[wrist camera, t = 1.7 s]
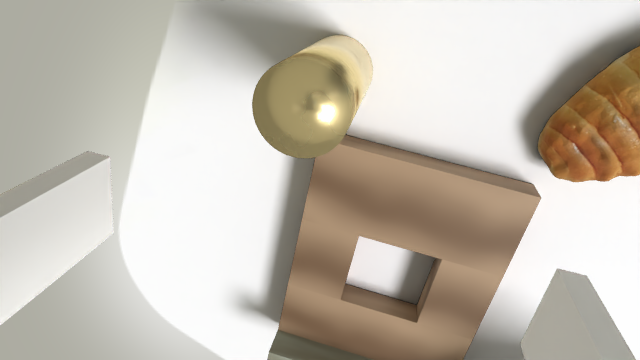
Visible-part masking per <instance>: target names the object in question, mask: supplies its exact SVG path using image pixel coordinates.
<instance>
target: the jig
mask: <svg viewBox="0 0 640 360" xmlns="http://www.w3.org/2000/svg"><path fill="white" fill-rule="evenodd" d="M540 200H541V197H540V195H539V193H538V191H537V190H536V188H535V186H534V185H533V184H530V183H526V182H522V181H518V180H515V179H511V178H507V177H503V176H499V175H496V174H492V173H488V172H484V171H480V170H477V169H473V168H469V167H465V166H462V165H458V164H454V163H450V162H446V161H443V160H439V159H435V158H431V157H428V156H424V155H420V154H416V153H412V152H409V151H405V150H401V149H397V148H393V147H390V146H386V145H382V144H378V143H375V142H371V141H367V140H363V139H359V138H356V137H352V136H348V135H345V136H344V138H343V139H342V141H341V142H340V143H339V144H338V145H337V146H336V147H335V148H334V149H333V150H331V151H330V152H328V153H326V154H324V155H321V156H318V157H315V161H314V166H313V171H312V175H311V180H310V184H309V189H308V194H307V198H306V203H305V208H304V212H303V217H302V221H301V226H300V231H299V235H298V240H297V245H296V249H295V254H294V258H293V263H292V268H291V272H290V277H289V282H288V286H287V291H286V296H285V300H284V305H283V309H282V314H281V319H280V323H279V328H278V331H277V334H276V336H275V339H274V341H273V343H272V346H271V348H270V351H269V354H268V359H267V360H463V359H464V357H465V354H466V352H467V350H468V348H469V346H470V344H471V342H472V340H473V338H474V336H475V334H476V332H477V330H478V328H479V326H480V323H481V321H482V319H483V317H484V315H485V313H486V311H487V309H488V307H489V305H490V303H491V301H492V299H493V297H494V295H495V292H496V290H497V288H498V286H499V284H500V282H501V280H502V278H503V276H504V274H505V272H506V270H507V268H508V266H509V264H510V261H511V259H512V257H513V255H514V253H515V251H516V249H517V247H518V245H519V243H520V241H521V239H522V237H523V235H524V233H525V231H526V228H527V226H528V224H529V222H530V220H531V218H532V216H533V214H534V212H535V210H536V208H537V206H538V204H539V202H540ZM359 236H362V237H365V238H369V239H372V240H376V241H379V242H383V243H386V244H390V245H393V246H397V247H400V248H404V249H407V250H411V251H414V252H418V253H421V254H425V255H428V256H432V257H435V260H434V263H433V265H432V268H431V270H430V273H429V276H428V278H427V281H426V283H425V286H424V288H423V291H422V294H421V296H420V299H419V301H418V304H417V305H414V304H411V303H408V302H404V301H401V300H398V299H394V298H391V297H388V296H384V295H381V294H378V293H374V292H371V291H368V290H364V289H361V288H357V287H354V286H351V285H347V284H345V282H346V279H347V275H348V272H349V269H350V265H351V262H352V258H353V255H354V251H355V248H356V244H357V241H358V237H359Z"/></svg>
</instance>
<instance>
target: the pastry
mask: <svg viewBox="0 0 640 360" xmlns="http://www.w3.org/2000/svg"><path fill="white" fill-rule="evenodd" d="M538 151H539V153H540V155H541V157H542V159H543V160H544V162H545V163H546V164H547V166H548V167H549V169H550V171H551V173H552V174H553V175H554V176H555V177H556V178H559V179H565V180H570V181H572V182H583V181H589V180H597V181H609V180H611V179H613V178H615V177H617V176H637V175H639V174H640V46H639V47H637V48H635V49H633V50H632V51H630V52H628V53H626V54H625V55H623V56H621V57H620V58H618V59H616V60H615V61H614V62H612V63H611V64H610V65H609V66H608V67H607V68H606V69H604V70H603V71H601V72H600V73H599V74H597V75H596V76H595V77H594V78H593V79H591V80H590V81H589V82H587V83H586V84H585V85H584V86H583V87H582V88H581V89H580V90H579V91H578V92H577V93H575V94H574V95H573V96H572V97H571V98H570V99H569V100H568V101H567V102H566V103H565V104H564V105H563V106H561V107H560V108H559V109H558V110H557V111H556V112H555V113H554V114H553V115H552V116H551V117H550V118H549V120H548V122H547V124H546V125H545V127H544V129H543V130H542V132H541V134H540V136H539V140H538Z"/></svg>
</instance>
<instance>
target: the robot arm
mask: <svg viewBox="0 0 640 360" xmlns="http://www.w3.org/2000/svg"><path fill="white" fill-rule="evenodd" d="M112 234H113V208H112V184H111V161H110V157H109V156H105V155H101V154H97V153H93V152H89V151H87V152H84V153H83V154H81V155H79V156H76V157H74V158H72V159H70V160H68V161H66V162H64V163H62V164H60V165H58V166H56V167H54V168H52V169H50V170H48V171H46V172H44V173H42V174H40V175H38V176H36V177H34V178H32V179H30V180H28V181H26V182H24V183H22V184H20V185H18V186H16V187H14V188H12V189H10V190H8V191H6V192H4V193H2V194H0V325H1V324H2V323H4V322H5V321H6V320H7V319H9V318H10V317H11V316H12V315H13V314H15V313H16V312H17V311H18V310H20V309H21V308H22V307H23V306H25V305H26V304H27V303H28V302H29V301H31V300H32V299H33V298H34V297H36V296H37V295H38V294H39V293H41V292H42V291H43V290H44V289H46V288H47V287H48V286H49V285H50V284H51V283H53V282H54V281H55V280H57V279H58V278H59V277H60V276H62V275H63V274H64V273H65V272H66V271H68V270H69V269H70V268H71V267H73V266H74V265H75V264H76V263H78V262H79V261H80V260H81V259H82V258H84V257H85V256H86V255H87V254H89V253H90V252H91V251H92V250H94V249H95V248H96V247H97V246H99V245H100V244H101V243H102V242H103V241H104V240H106V239H107V238H108V237H110V236H111V235H112ZM520 345H521V348H522V352H523V355H524V359H525V360H636V359H635V357H634V356H633V354H632V352H631V350H630V349H629V347H628V345H627V344H626V342H625V340H624V339H623V337H622V335H621V333H620V332H619V330H618V328H617V327H616V325H615V323H614V321H613V320H612V318H611V316H610V315H609V313H608V311H607V309H606V308H605V306H604V304H603V303H602V301H601V299H600V298H599V296H598V294H597V292H596V291H595V289H594V287H593V286H592V284H591V282H590V280H589V279H588V277H587V276H586V275H581V274H577V273H573V272H569V271H565V270H561V269H557V270H556V272H555V274H554V276H553V278H552V280H551V282H550V284H549V286H548V288H547V290H546V292H545V294H544V296H543V298H542V300H541V302H540V304H539V306H538V308H537V310H536V312H535V314H534V316H533V318H532V320H531V322H530V324H529V326H528V328H527V330H526V333H525V335H524V337H523V339H522V341H521V343H520Z"/></svg>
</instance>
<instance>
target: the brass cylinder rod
mask: <svg viewBox="0 0 640 360" xmlns="http://www.w3.org/2000/svg"><path fill="white" fill-rule="evenodd" d="M372 75H373V66H372V61H371V58H370V56H369V54H368V52H367V50H366V49H365V48H364V46H363V45H362V44H360V43H359V42H358V41H356V40H355V39H353V38H351V37H348V36H344V35H332V36H328V37H326V38H323V39H321V40H320V41H318V42H316V43H314V44H312V45H311V46H309V47H307V48H305V49H303V50H301V51H300V52H298V53H296V54H294V55H292V56H290V57H289V58H287V59H285V60H283V61H281V62H279V63H278V64H276V65H274V66H272V67H271V68H270V69H269V70H267V71H266V72H265V73H264V74H263V76H262V77H261V78H260V80H259V82H258V84H257V85H256V88H255V91H254V95H253V102H252V108H253V116H254V120H255V123H256V125H257V127H258V130H259V131H260V133H261V135H262V136H263V137H264V139H265V140H266V141H267V142H268V143H269V144H270V145H271V146H272V147H274V148H275V149H277V150H278V151H280V152H282V153H284V154H286V155H289V156H292V157H296V158H314V157H318V156H321V155H324V154H326V153H328V152H330V151H331V150H333V149H334V148H335V147H336V146H337V145H338V144H339V143H340V142H341V141H342V139H343V138H344V136H345V134H346V132H347V130H348V128H349V126H350V124H351V122H352V120H353V118H354V116H355V114H356V112H357V110H358V108H359V106H360V104H361V102H362V100H363V98H364V96H365V94H366V92H367V90H368V88H369V85H370V83H371V80H372Z"/></svg>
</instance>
